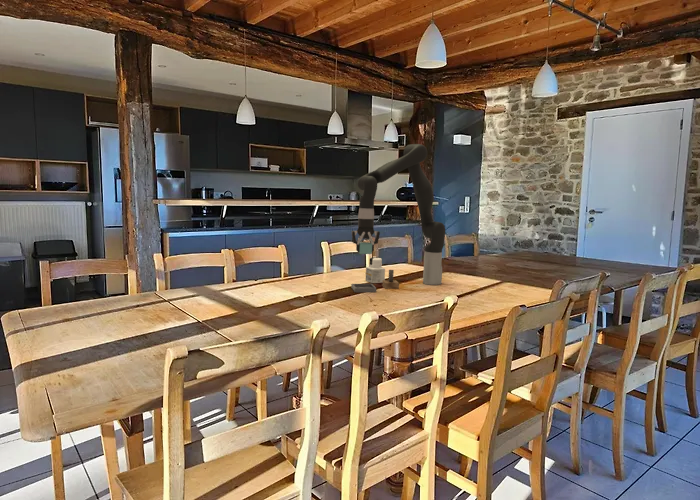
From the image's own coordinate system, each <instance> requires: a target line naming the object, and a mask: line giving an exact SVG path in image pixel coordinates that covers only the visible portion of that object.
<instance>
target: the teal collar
mask: <svg viewBox="0 0 700 500" xmlns="http://www.w3.org/2000/svg"><path fill="white" fill-rule="evenodd" d="M359 245H360V250H359V252H357V253H358V254H359V255H372V254H373V251H372V243H371V242H370V241H367V242H365V241H364V242H363V241H361V242H360V244H359Z"/></svg>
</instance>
